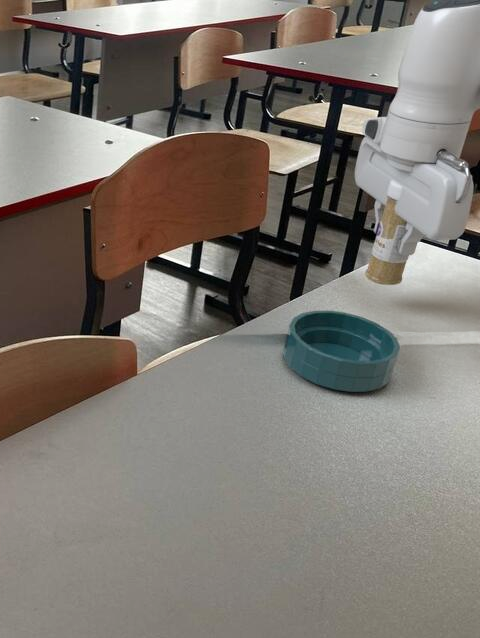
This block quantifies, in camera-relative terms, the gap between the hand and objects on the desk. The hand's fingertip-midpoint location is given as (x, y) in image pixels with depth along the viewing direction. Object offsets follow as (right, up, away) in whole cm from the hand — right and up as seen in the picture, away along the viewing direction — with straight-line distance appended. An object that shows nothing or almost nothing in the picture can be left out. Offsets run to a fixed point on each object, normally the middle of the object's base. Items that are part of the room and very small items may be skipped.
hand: (392, 243), depth 98 cm
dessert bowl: (-10, -16, -5) cm, 19 cm away
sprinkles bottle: (0, -5, +3) cm, 5 cm away
